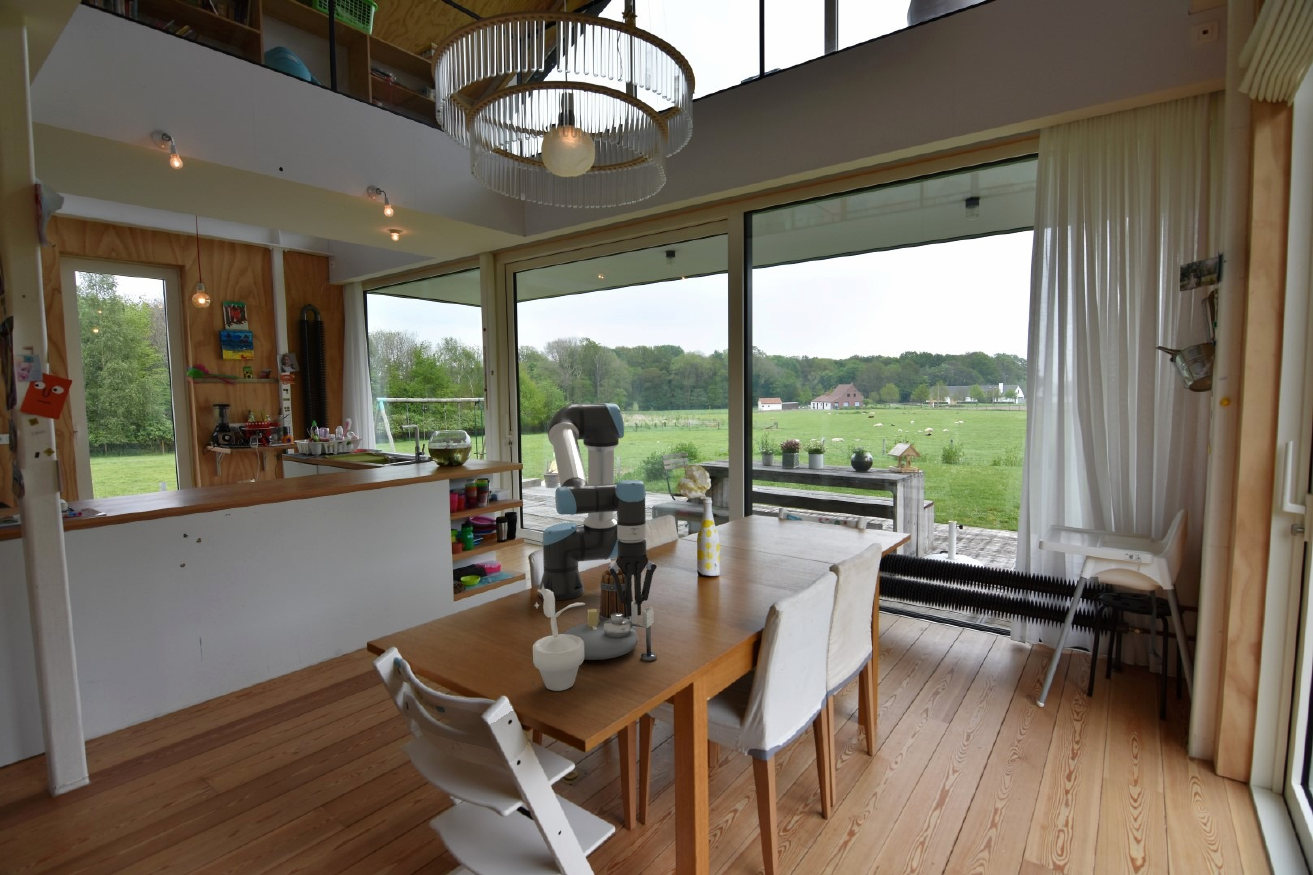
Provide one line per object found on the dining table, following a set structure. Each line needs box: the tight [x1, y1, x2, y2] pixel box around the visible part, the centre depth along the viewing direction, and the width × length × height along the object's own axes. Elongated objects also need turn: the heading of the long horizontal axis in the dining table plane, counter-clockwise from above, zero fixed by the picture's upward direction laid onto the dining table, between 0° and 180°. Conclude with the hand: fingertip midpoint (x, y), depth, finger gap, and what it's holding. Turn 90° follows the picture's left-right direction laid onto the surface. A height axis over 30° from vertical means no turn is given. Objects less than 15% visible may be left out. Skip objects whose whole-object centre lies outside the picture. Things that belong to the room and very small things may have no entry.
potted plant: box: [532, 586, 586, 692], centre depth 139 cm, size 13×12×25 cm
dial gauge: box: [631, 606, 658, 662], centre depth 154 cm, size 7×4×12 cm, turn 66°
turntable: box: [562, 608, 638, 661], centre depth 159 cm, size 20×20×6 cm
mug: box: [598, 568, 634, 622], centre depth 181 cm, size 16×11×15 cm
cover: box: [604, 613, 631, 639], centre depth 160 cm, size 7×7×5 cm
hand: (633, 627), depth 162 cm, fingers closed
